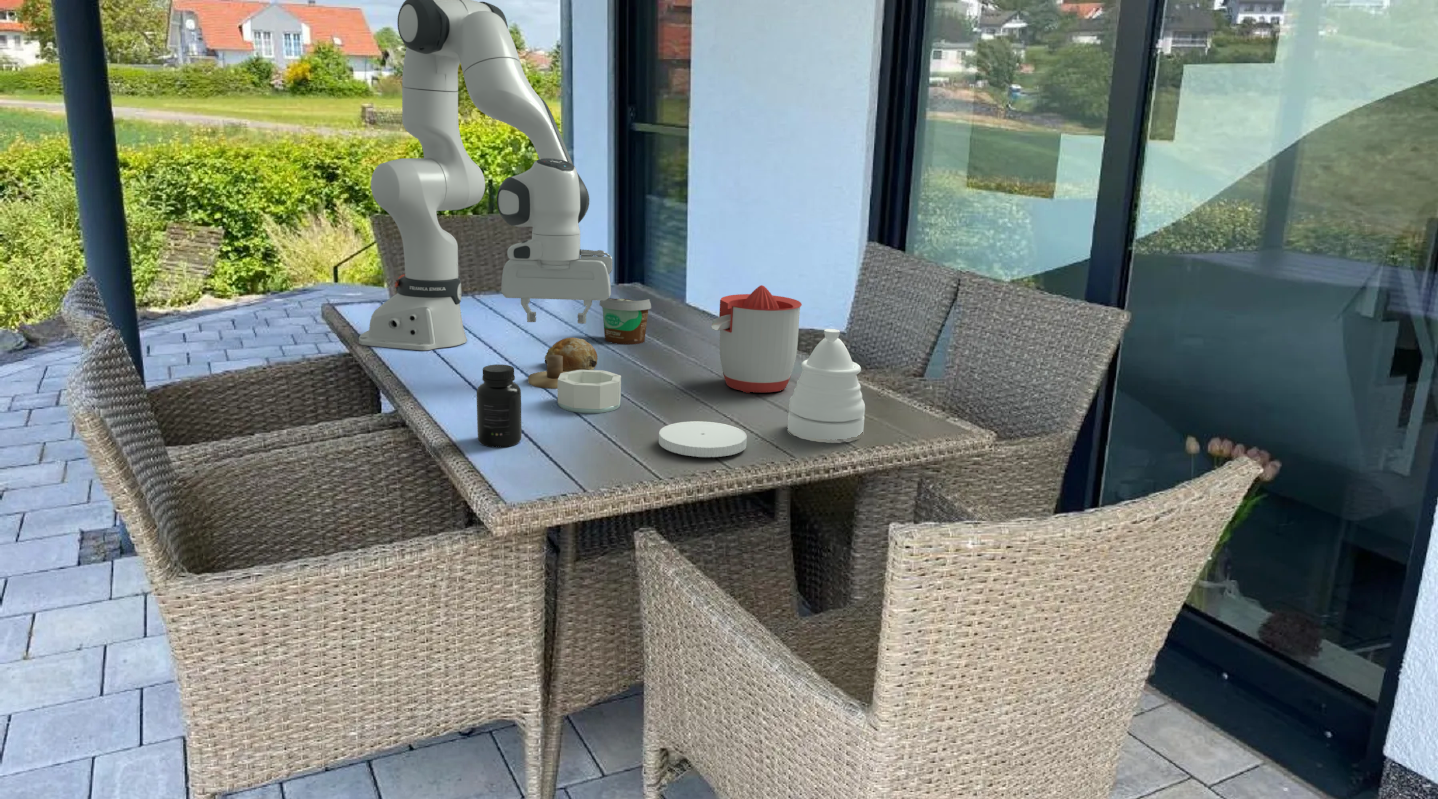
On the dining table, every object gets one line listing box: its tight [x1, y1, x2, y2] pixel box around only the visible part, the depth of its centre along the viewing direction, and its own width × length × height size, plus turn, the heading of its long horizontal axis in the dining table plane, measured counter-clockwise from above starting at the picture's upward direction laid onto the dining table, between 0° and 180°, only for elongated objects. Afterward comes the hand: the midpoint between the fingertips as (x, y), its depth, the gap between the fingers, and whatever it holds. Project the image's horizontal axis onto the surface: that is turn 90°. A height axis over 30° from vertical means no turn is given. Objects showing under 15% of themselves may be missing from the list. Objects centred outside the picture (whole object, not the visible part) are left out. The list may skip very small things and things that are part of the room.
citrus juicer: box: [710, 285, 803, 394], centre depth 207 cm, size 16×17×20 cm
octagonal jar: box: [557, 369, 622, 414], centre depth 192 cm, size 11×11×5 cm
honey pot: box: [787, 328, 866, 440], centre depth 181 cm, size 13×13×18 cm
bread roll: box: [544, 337, 598, 372], centre depth 218 cm, size 10×10×8 cm
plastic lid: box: [658, 420, 748, 458], centre depth 172 cm, size 14×14×2 cm
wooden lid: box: [527, 355, 566, 390], centre depth 206 cm, size 10×10×5 cm
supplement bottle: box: [476, 364, 522, 448], centre depth 168 cm, size 7×7×12 cm
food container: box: [599, 297, 652, 345], centre depth 241 cm, size 12×6×10 cm, turn 68°
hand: (556, 322), depth 203 cm, fingers open, 8 cm apart
